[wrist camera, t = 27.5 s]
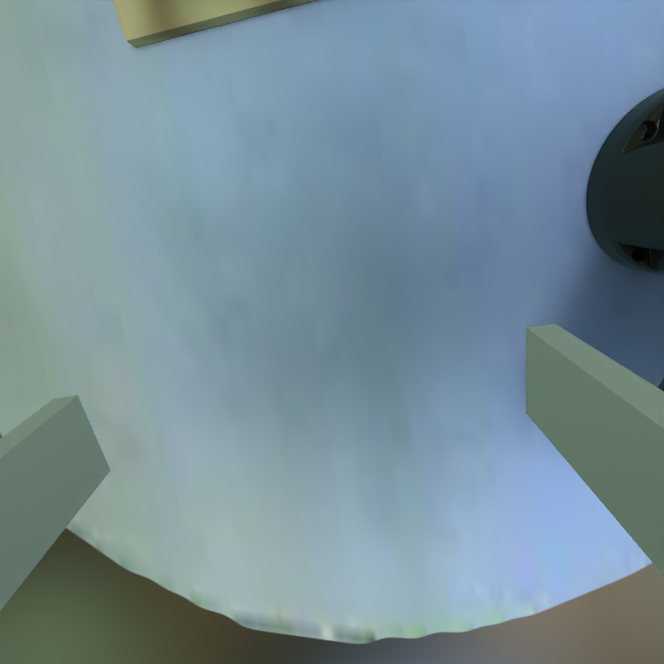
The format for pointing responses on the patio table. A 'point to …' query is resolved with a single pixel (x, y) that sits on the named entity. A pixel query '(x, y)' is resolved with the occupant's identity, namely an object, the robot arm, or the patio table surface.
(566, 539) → the patio table surface
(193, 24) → the oak board
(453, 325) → the patio table surface
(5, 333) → the patio table surface
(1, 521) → the robot arm
